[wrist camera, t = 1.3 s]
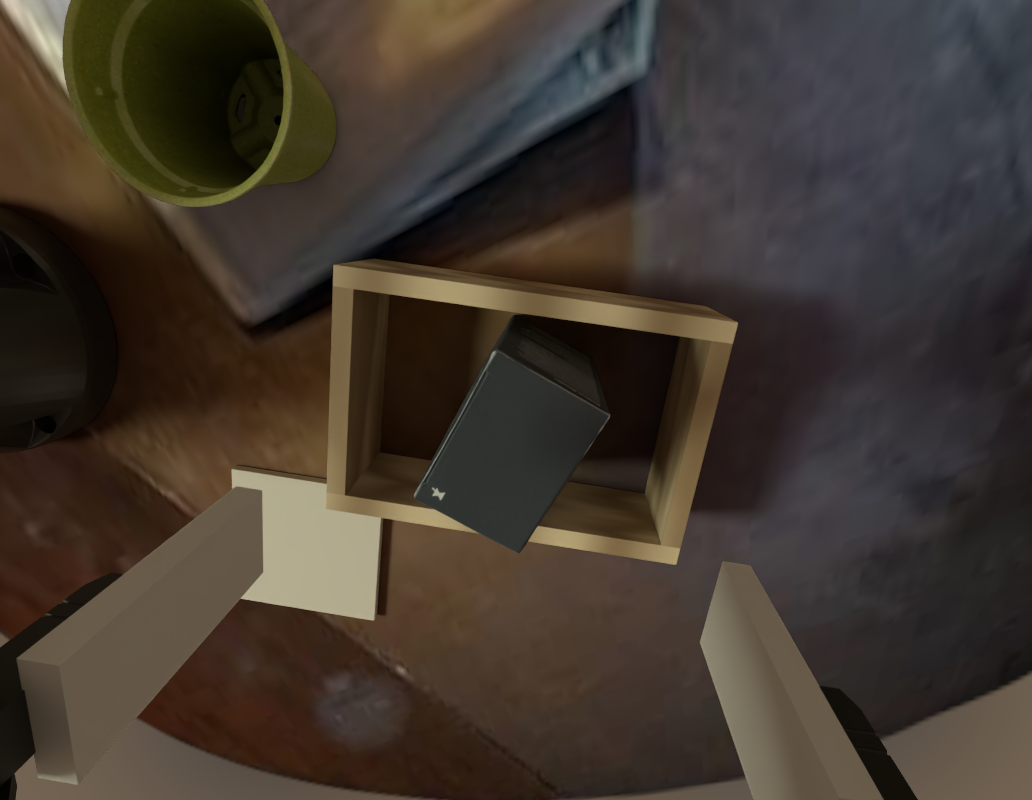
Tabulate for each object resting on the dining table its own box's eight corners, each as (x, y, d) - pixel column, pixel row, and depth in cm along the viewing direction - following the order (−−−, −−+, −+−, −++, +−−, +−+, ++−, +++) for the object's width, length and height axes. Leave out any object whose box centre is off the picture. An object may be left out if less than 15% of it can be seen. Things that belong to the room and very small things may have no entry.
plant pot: (190, 186, 31) (56, 169, 23) (208, -2, 28) (62, -99, 20) (348, 234, 31) (272, 235, 23) (382, 51, 28) (309, -23, 20)
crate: (363, 464, 35) (325, 509, 30) (374, 258, 31) (333, 264, 26) (657, 510, 35) (676, 564, 29) (705, 305, 31) (738, 322, 25)
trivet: (240, 592, 39) (235, 597, 39) (236, 465, 36) (231, 468, 36) (377, 614, 39) (374, 620, 38) (385, 488, 36) (382, 492, 35)
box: (531, 463, 34) (518, 559, 24) (452, 419, 34) (406, 498, 24) (597, 358, 32) (614, 417, 22) (514, 310, 32) (493, 346, 22)
